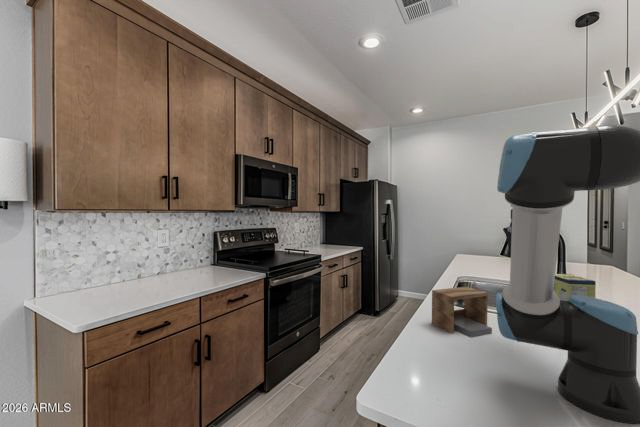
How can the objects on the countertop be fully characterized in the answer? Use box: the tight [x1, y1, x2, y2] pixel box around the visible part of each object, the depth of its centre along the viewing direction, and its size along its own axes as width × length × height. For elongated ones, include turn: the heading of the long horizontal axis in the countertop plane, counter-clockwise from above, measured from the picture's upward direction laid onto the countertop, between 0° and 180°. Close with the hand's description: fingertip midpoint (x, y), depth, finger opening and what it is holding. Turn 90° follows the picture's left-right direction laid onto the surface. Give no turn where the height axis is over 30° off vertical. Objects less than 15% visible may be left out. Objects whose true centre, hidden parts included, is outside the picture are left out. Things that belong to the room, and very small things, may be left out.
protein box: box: [553, 273, 596, 301], centre depth 135 cm, size 10×16×16 cm
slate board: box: [454, 315, 493, 338], centre depth 112 cm, size 14×10×2 cm
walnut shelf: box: [431, 286, 489, 334], centre depth 115 cm, size 10×18×13 cm, turn 112°
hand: (522, 277), depth 100 cm, fingers closed
